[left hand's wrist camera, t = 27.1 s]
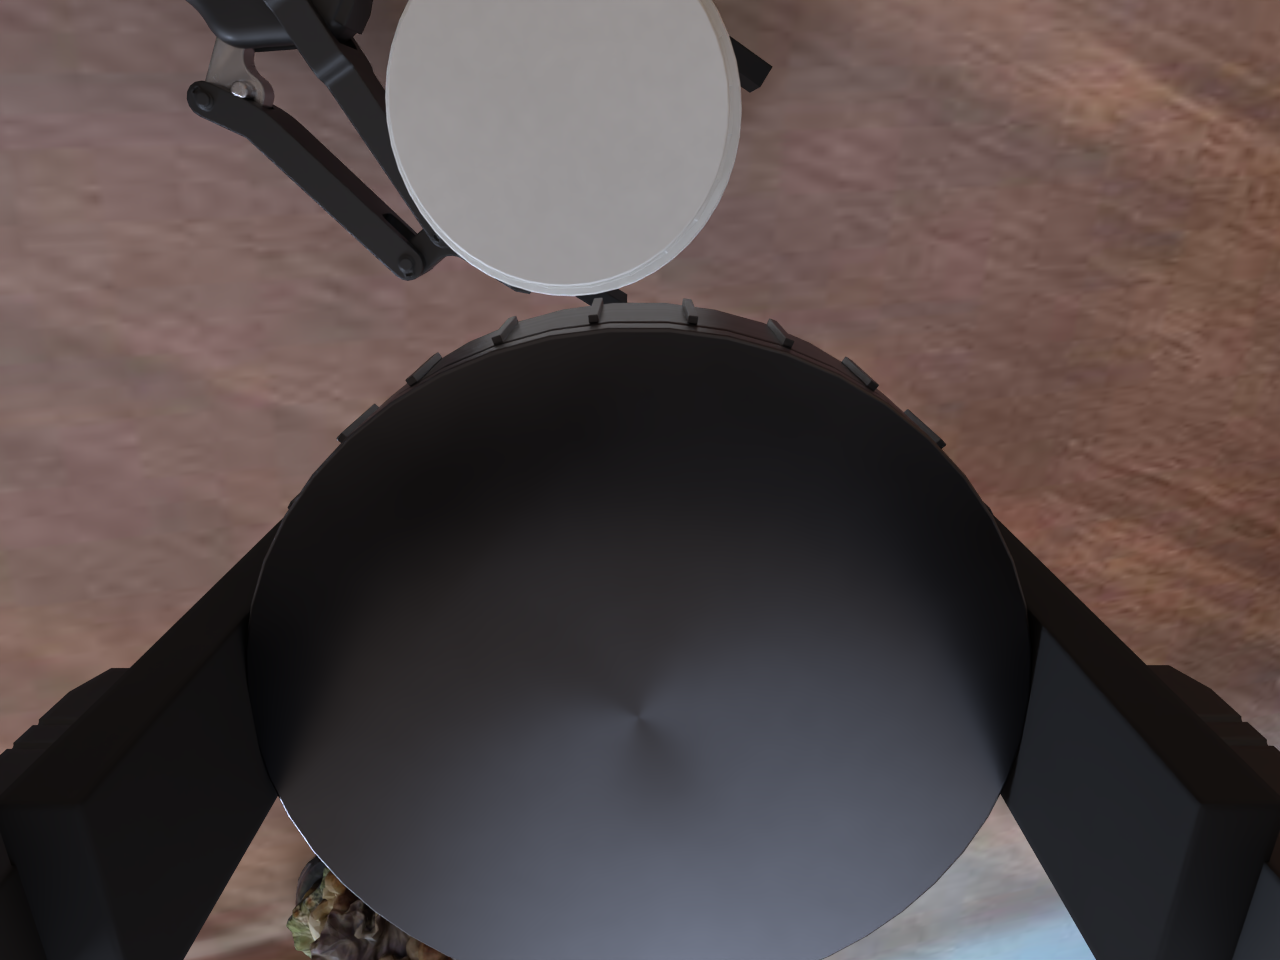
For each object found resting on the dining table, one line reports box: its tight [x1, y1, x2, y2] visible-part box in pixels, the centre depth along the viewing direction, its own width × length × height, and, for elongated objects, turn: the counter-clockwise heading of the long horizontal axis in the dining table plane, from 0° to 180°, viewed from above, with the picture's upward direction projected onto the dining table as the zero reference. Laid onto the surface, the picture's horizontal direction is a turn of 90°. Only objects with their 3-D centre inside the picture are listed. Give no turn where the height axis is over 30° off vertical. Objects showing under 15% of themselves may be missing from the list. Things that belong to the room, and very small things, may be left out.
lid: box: [245, 298, 1032, 960], centre depth 11 cm, size 10×10×2 cm
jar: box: [385, 0, 742, 296], centre depth 28 cm, size 9×9×18 cm
